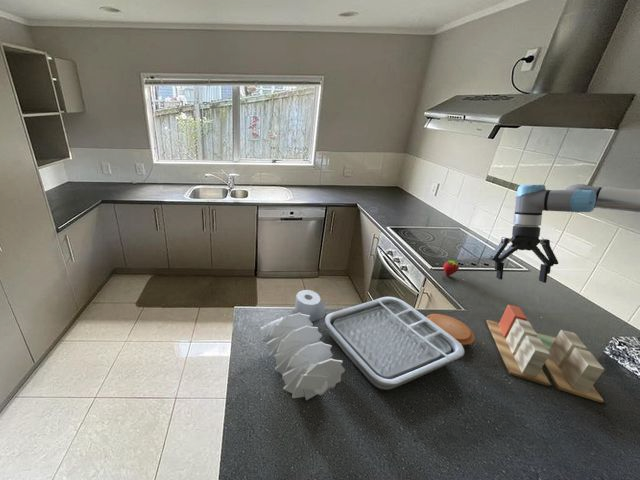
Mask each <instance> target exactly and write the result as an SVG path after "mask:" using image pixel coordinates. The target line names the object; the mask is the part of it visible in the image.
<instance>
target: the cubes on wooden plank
mask: <svg viewBox="0 0 640 480" xmlns="http://www.w3.org/2000/svg"><path fill="white" fill-rule="evenodd" d="M536 333H537V337H536V338H540V340H541V341H542V343H543V344H544V346H545V347H546V349H547V351H548V352H549V354H550V355H549V357H548V358H547V360H546V362H545V363H544V365H543V367H544V368H545V369H546V372H547V373H548V375H549V377H550V378H551V380H552V382H553V383H554V385H555V387H556V388H557V390H560V391H562V392H565V393H569V394H572V395H575V396H578V397H582V398H585V399H587V400H592V401H593V402H594V401H595V402H597V403H602V404H603V403H604V401H605V400H604V399H603V397H602V396H601V395H600V393H599V392H598V390H597V389H596V388H595V386H594V385H595V384H596V382H597V381H598V379H599V378H600V376H601V375H602V374H603V373H604V371H605V368H604V367H603V366H602V365H601V363H600V362H599V361H598V359H597V358H596V357H595V356H594V355H593V353H592V352H591V351H589V350H587V349H588V347H587V346H586V345H585V344H584V342H582V340H581V339H580V337H579V336H578V335H577V333H576V332H572V331H569V330H564V329H560V330H559V332H558V334H557V336H556V337H555V336H550V335H548V334H544V333H539V332H536Z"/></svg>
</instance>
